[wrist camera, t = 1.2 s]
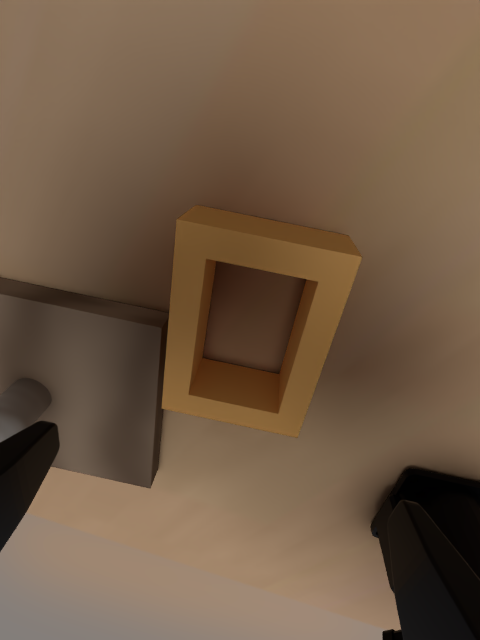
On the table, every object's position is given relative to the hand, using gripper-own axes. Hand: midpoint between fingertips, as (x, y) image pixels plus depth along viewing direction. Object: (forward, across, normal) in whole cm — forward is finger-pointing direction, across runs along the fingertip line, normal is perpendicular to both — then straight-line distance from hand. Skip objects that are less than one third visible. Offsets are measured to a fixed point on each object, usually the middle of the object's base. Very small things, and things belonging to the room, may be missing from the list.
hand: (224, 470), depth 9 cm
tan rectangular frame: (+9, 0, 0) cm, 9 cm away
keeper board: (+9, +11, +7) cm, 16 cm away
